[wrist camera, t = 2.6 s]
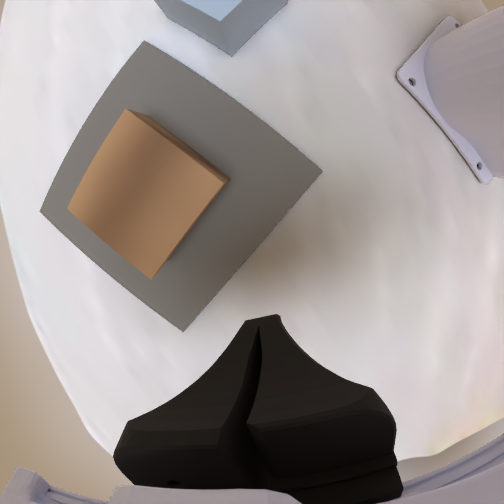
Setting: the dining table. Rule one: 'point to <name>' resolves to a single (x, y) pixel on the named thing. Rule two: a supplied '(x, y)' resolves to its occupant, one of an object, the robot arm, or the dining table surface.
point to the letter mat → (213, 150)
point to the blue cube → (222, 19)
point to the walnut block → (145, 191)
